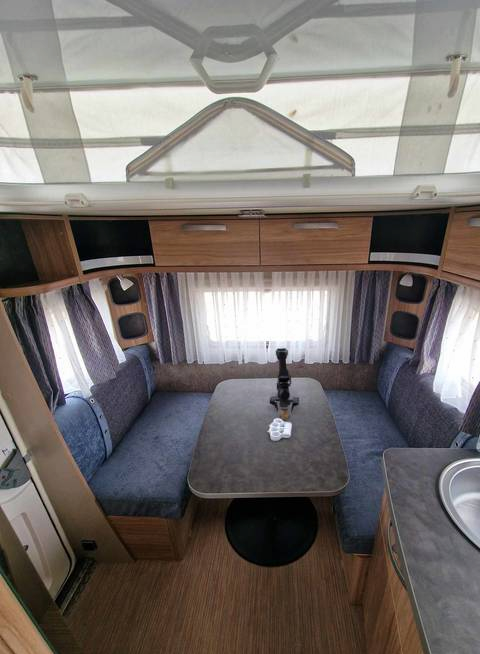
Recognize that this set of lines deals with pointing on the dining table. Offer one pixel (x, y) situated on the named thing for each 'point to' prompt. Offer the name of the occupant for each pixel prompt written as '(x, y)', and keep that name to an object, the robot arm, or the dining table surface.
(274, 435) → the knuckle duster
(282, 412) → the spice jar
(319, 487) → the dining table surface
